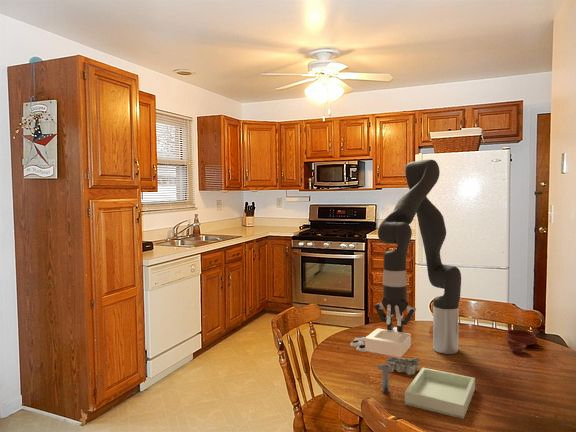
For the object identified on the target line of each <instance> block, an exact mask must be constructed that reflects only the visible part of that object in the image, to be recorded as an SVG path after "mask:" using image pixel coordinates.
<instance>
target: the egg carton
mask: <svg viewBox="0 0 576 432" xmlns="http://www.w3.org/2000/svg"><path fill="white" fill-rule="evenodd" d="M384 359H385V358H384ZM420 360H421V359H420V358H418V357H411V358H408V357H406V358H403V357H396V356H391V355H389V357H387V358H386V359H385V365H388V366H392V367H394V370H395V371H396V372H397V373H406V375H408V376H410V375H416V372H419V362H420Z"/></svg>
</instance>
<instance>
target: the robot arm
mask: <svg viewBox="0 0 576 432" xmlns="http://www.w3.org/2000/svg"><path fill="white" fill-rule="evenodd" d="M404 172H405V173H404V174H405V179H406V182H407V186H408V189H409V190H408V191H406V192H405V193H404V194H403V195H402V196H401V197H400V198H399V200H398V201H397V203H396V204H395V207H394V209H393V211H391V212H390V213H389V215H387V216H386V217H385V218H384V219H383V220H382V221H381V222H380V224H379V225H378V229H377V236H378V239H379V241H380V242H381V243H384V244H392V245H393V244H395V245H397V246H396V248H395V249H394V250H388V251H385V252H384V253H383V272H382V273H383V274H382V300H381V302H378V303H376V304H375V305H374V308H375V310H376V313H377V315H378V317H379V319H380V320H381V322H382V323H386V330H392V329H393V328H394V323H393V319H394V316H396V317H395V318H396V323H397V324H396V327H397V331H398V332H404V326H406V325H408V324H409V323H410V321H411V319H412V318H413V316H414V314H415V313H416V310H417V308H416V307H412V306H411V305H409V302H408V296H407V295H408V285H407V284H408V281H407V280H408V276H407V275H408V274H407V255H408V249H409V246H410V243H411V239H412V234H413V233H412V232H413V231H412V227H411V226H410V224H411V223H412V222H413V220H414V218H415V216H416V217H417V222H418V228H419V232H420V235H421V239H422V244H423V249H424V254H425V260H426V268H427V269H426V270H427V276H428V281H429V282H430V285H431V286H433V287H435V288H438V289H444V291H443V295H440V296H436V297H434V298H433V300H432V301H433V302H432V304H433V307H432V317H433V319H432V321H433V322H432V328H433V329H432V349H433V351H435V352H437V353H440V354H444V355H445V354H446V355H453V354H458V352H459V304H460V300H461V288H462V273H461V271H460V269H459V267H457V266H453V265H447V264H443V263H442V258H441V249H442V246H443V244H444V243H445V240H446V236H447V228H446V224H445V223H446V222H445V218H444V216H443V214H442V213H441V211H440V210H439V209H438V208H437V207H436V206H435V204H433V202H431V200H429V198H428V197H427V196H428V195H429V194H430V192H431V191H432V189H433V188H434V187H435V185H436V184H437V182H438V181H439V178H440V173H441V171H440V166H439V164H438V162H437V161H436V160H434V159H423V160H416V161H411V162H408V163H407V164H406V165H405V171H404ZM384 310H386V313H385V311H384ZM405 311H406V313H407V315H406V316H405V318H404V313H405Z"/></svg>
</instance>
